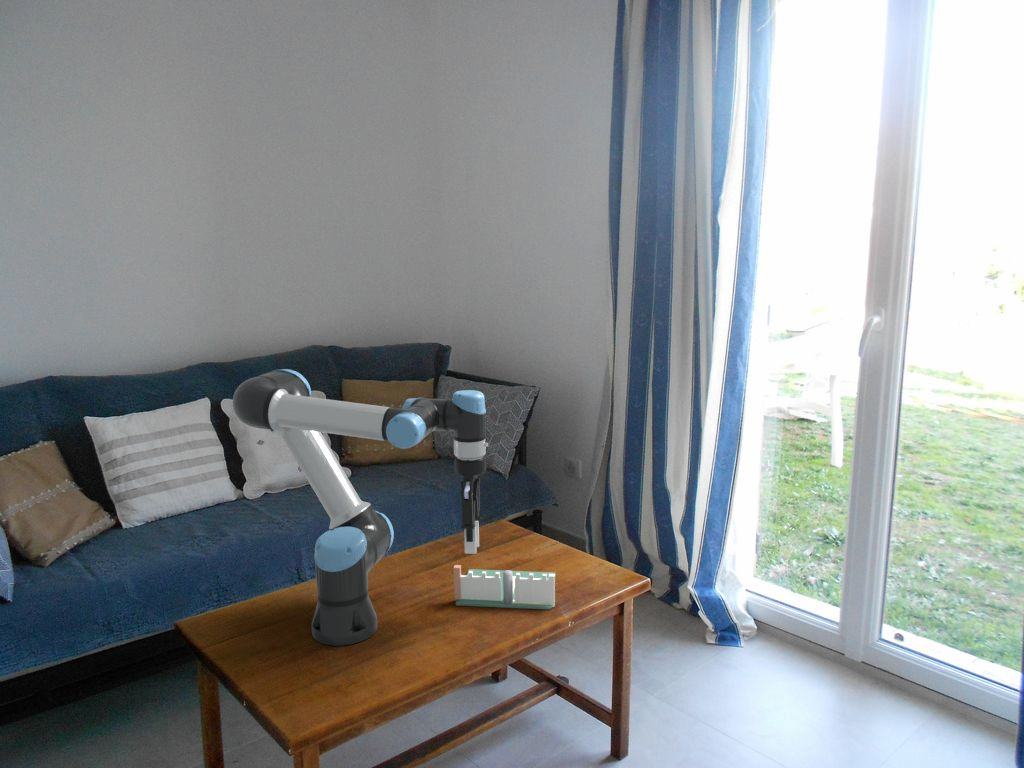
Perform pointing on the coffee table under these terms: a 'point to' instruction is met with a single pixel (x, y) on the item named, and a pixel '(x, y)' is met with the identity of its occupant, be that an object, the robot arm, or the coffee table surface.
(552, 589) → the fixed fence
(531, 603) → the board
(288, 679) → the coffee table surface
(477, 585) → the white crenellated wall
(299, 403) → the robot arm
